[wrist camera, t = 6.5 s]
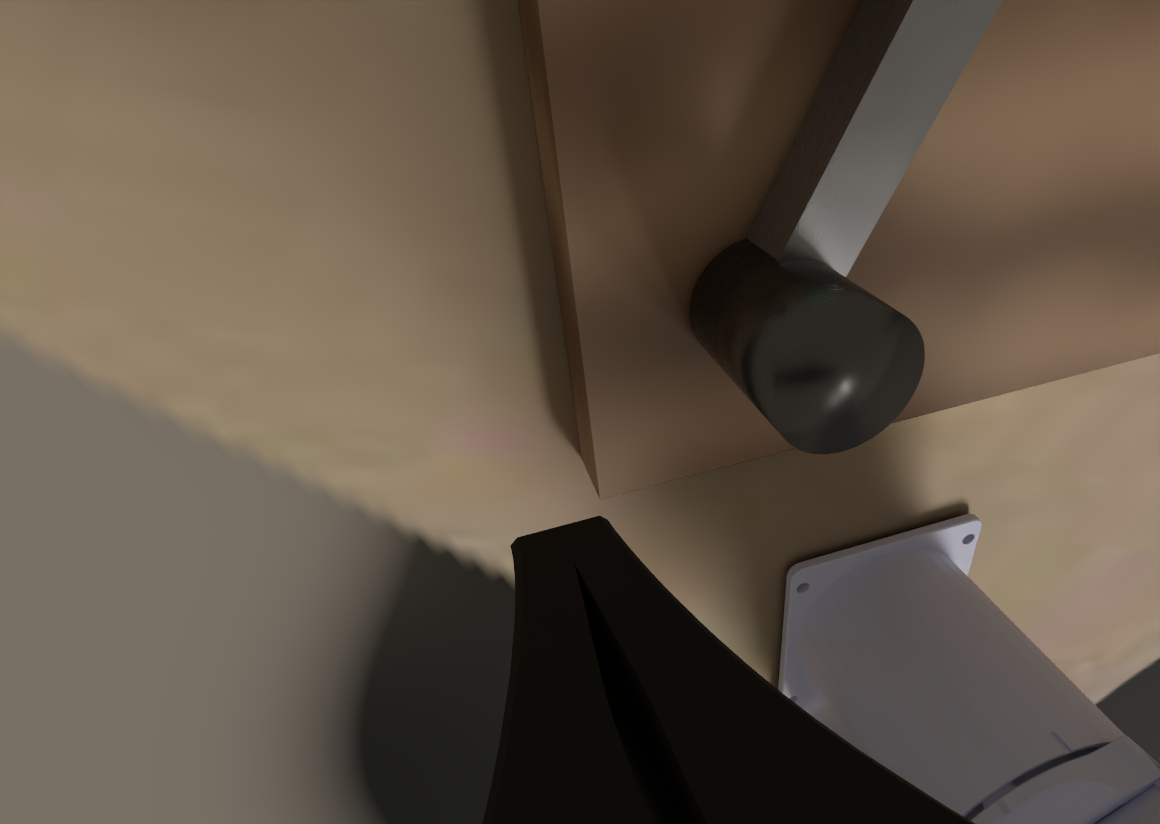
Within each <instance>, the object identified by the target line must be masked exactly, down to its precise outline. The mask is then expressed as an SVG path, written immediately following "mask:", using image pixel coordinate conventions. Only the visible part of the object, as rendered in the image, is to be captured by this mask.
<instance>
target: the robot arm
mask: <svg viewBox="0 0 1160 824" xmlns="http://www.w3.org/2000/svg"><path fill="white" fill-rule="evenodd" d="M981 526H982V522H981V520H980V519H979V518H978V517H976V516H975V515H974V514H966V515H962V516H959V517H955V518H952V519H948V520H945V521H941V522H938V523H934V524H931V525H928V526H924V527H921V528H917V529H914V530H910V531H907V532H903V533H900V534H896V535H893V536H889V537H886V538H882V539H879V540H876V541H872V542H869V543H865V544H862V545H858V546H855V547H851V548H848V549H844V550H841V551H837V552H834V553H831V554H827V555H824V556H820V557H817V558H813V559H810V560H806V561H803V562H799V563H797V564H795V565H794V566H792V567H791V568H790V569H789V571H788V573H787V580H786V593H785V606H784V620H783V633H782V646H781V659H780V672H779V685H778V689H777V688H775V687H774V686H773V685H772V684H770V683H769V682H768V681H767V680H765V679H764V678H763V677H762V676H761V675H759V674H758V673H757V672H756V671H755V670H753V669H752V668H751V667H750V666H749V665H748V664H746V663H745V662H744V661H743V660H742V659H741V658H740V657H738V656H737V655H736V654H735V653H734V652H733V651H732V650H730V649H729V648H728V647H727V646H726V645H725V644H724V643H722V642H721V641H720V640H719V639H718V638H717V637H716V636H715V635H714V634H713V633H711V632H710V631H709V630H708V629H707V628H706V627H705V626H704V625H703V624H702V623H701V622H700V621H699V620H698V619H697V618H696V617H695V616H694V615H693V614H692V613H691V612H690V611H689V610H688V609H686V608H685V607H684V606H683V605H682V604H681V603H680V602H679V601H678V600H677V599H676V598H675V597H674V596H673V595H672V594H671V593H670V592H669V591H668V590H667V589H666V588H665V587H664V585H663V584H662V583H661V582H660V581H659V580H658V579H657V578H656V577H655V576H654V575H653V574H652V573H651V572H650V570H649V569H648V568H647V567H646V566H645V565H644V564H643V563H642V562H641V561H640V559H639V558H638V557H637V556H636V555H635V554H634V553H633V551H632V550H631V549H630V548H629V547H628V545H627V544H626V543H625V542H624V541H623V539H622V538H621V537H620V536H619V534H618V533H617V532H616V531H615V529H614V528H613V527H612V525H611V524H610V522H609V521H608V520H607V519H605V518H603V517H601V516H597V517H593V518H589V519H586V520H582V521H578V522H574V523H571V524H567V525H563V526H559V527H555V528H552V529H548V530H544V531H540V532H537V533H533V534H529V535H525V536H522V537H518V538H517V539H516V540H515V541H514V542H513V543H512V545H511V550H512V555H513V560H514V571H515V624H514V635H513V647H512V659H511V670H510V678H509V685H508V692H507V698H506V705H505V712H504V718H503V725H502V731H501V737H500V743H499V748H498V753H497V759H496V765H495V769H494V774H493V779H492V783H491V788H490V793H489V797H488V802H487V806H486V810H485V815H484V819H483V824H1160V765H1159V764H1158V763H1157V762H1156V761H1155V760H1154V759H1152V758H1151V757H1150V756H1149V755H1148V754H1147V753H1146V752H1145V751H1143V750H1142V749H1141V748H1140V747H1139V746H1138V745H1137V744H1136V743H1135V742H1133V741H1132V740H1131V739H1130V738H1129V737H1128V736H1125V735H1124V734H1123V733H1122V732H1121V731H1120V730H1119V729H1118V728H1117V727H1116V726H1115V725H1114V724H1113V723H1112V722H1111V721H1110V720H1109V719H1108V718H1107V717H1106V716H1105V715H1104V714H1103V713H1102V712H1101V711H1100V710H1099V709H1098V708H1097V707H1096V706H1095V705H1094V704H1093V703H1092V702H1091V701H1090V700H1089V699H1088V698H1087V697H1086V696H1085V695H1084V694H1083V693H1082V692H1081V691H1080V689H1079V688H1078V687H1077V686H1076V685H1075V684H1074V683H1073V682H1072V681H1071V680H1070V679H1069V678H1068V677H1067V676H1066V675H1065V674H1064V673H1063V672H1062V671H1061V670H1060V669H1059V668H1058V667H1057V666H1056V665H1055V664H1054V663H1053V662H1052V661H1051V660H1050V659H1049V658H1048V657H1047V656H1046V655H1045V654H1044V653H1043V652H1042V651H1041V650H1040V649H1039V648H1038V647H1037V646H1036V645H1035V644H1034V643H1033V642H1032V641H1031V640H1030V639H1029V638H1028V637H1027V636H1026V635H1025V634H1024V633H1023V632H1022V631H1021V630H1020V629H1019V628H1018V627H1017V626H1016V625H1015V624H1014V623H1013V622H1012V621H1011V620H1010V619H1009V618H1008V617H1007V616H1006V615H1005V614H1004V613H1003V612H1002V611H1001V610H1000V609H999V608H998V607H997V606H996V605H995V604H994V603H993V602H992V601H991V600H990V599H989V598H988V597H987V596H986V594H985V593H984V592H983V591H982V590H981V589H980V588H979V587H978V586H977V585H976V584H975V583H974V582H973V581H972V580H971V579H970V578H969V577H968V572H969V569H970V565H971V562H972V558H973V555H974V551H975V547H976V544H977V540H978V537H979V533H980V530H981ZM1159 758H1160V757H1159Z"/></svg>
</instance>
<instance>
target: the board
mask: <svg viewBox="0 0 1160 824" xmlns="http://www.w3.org/2000/svg"><path fill="white" fill-rule="evenodd" d="M862 2H863V0H518V4H519V11H520V18H521V25H522V32H523V40H524V47H525V54H526V61H527V69H528V76H529V83H530V90H531V97H532V105H533V112H534V119H535V126H536V133H537V141H538V148H539V155H540V162H541V169H542V177H543V184H544V191H545V198H546V205H547V213H548V220H549V227H550V234H551V241H552V249H553V256H554V263H555V270H556V277H557V285H558V292H559V299H560V306H561V314H562V321H563V328H564V335H565V342H566V350H567V357H568V364H569V371H570V378H571V386H572V393H573V400H574V407H575V414H576V422H577V429H578V436H579V443H580V450H581V458H582V460H583V462H584V465H585V467H586V469H587V471H588V474H589V476H590V478H591V480H592V483H593V485H594V487H595V489H596V492H597V494H598V496H599V498H600V499H604V498H608V497H612V496H616V495H619V494H623V493H627V492H631V491H635V490H639V489H642V488H646V487H650V486H654V485H658V484H661V483H665V482H669V481H673V480H677V479H681V478H684V477H688V476H692V475H696V474H700V473H704V472H707V471H711V470H715V469H719V468H723V467H726V466H730V465H734V464H738V463H742V462H746V461H749V460H753V459H757V458H761V457H765V456H768V455H772V454H776V453H780V452H784V451H788V450H791V449H795V447H793V446H792V445H791V444H789V443H788V442H787V441H786V440H785V439H784V438H783V437H782V436H781V435H780V433H779V432H778V431H777V430H776V429H775V428H774V427H773V426H772V424H771V423H770V422H769V421H768V420H767V419H766V418H765V417H764V415H763V414H762V413H761V412H760V411H759V410H758V409H757V408H756V406H755V405H754V404H753V403H752V402H751V401H750V400H749V399H748V397H747V396H746V395H745V394H744V393H743V392H742V391H741V390H740V388H739V387H738V386H737V385H736V384H735V383H734V382H733V381H732V380H731V378H730V377H729V376H728V375H727V374H726V373H725V372H724V371H723V369H722V368H721V367H720V366H719V365H718V364H717V363H716V362H715V360H714V359H713V358H712V357H711V356H710V355H709V354H708V353H707V351H706V350H705V349H704V348H703V347H702V346H701V345H700V344H699V342H698V341H697V339H696V338H695V336H694V334H693V331H692V328H691V325H690V318H689V306H690V300H691V296H692V292H693V289H694V287H695V284H696V282H697V280H698V279H699V277H700V275H701V273H702V272H703V271H704V269H705V268H706V266H707V265H708V264H709V263H710V262H711V261H712V260H713V259H714V258H715V257H716V256H717V255H718V254H719V253H720V252H722V251H723V250H724V249H726V248H727V247H729V246H730V245H732V244H734V243H736V242H738V241H740V240H743V239H746V238H747V236H748V234H749V232H750V230H751V228H752V226H753V224H754V222H755V220H756V218H757V216H758V214H759V212H760V210H761V208H762V206H763V204H764V202H765V200H766V198H767V195H768V193H769V191H770V189H771V187H772V185H773V183H774V181H775V179H776V177H777V175H778V173H779V171H780V169H781V167H782V165H783V163H784V161H785V159H786V157H787V155H788V153H789V151H790V149H791V146H792V144H793V142H794V140H795V138H796V136H797V134H798V132H799V130H800V128H801V126H802V124H803V122H804V120H805V118H806V116H807V114H808V112H809V110H810V108H811V106H812V104H813V102H814V100H815V98H816V95H817V93H818V91H819V89H820V87H821V85H822V83H823V81H824V79H825V77H826V75H827V73H828V71H829V69H830V67H831V65H832V63H833V61H834V59H835V57H836V55H837V53H838V51H839V49H840V47H841V44H842V42H843V40H844V38H845V36H846V34H847V32H848V30H849V28H850V26H851V24H852V22H853V20H854V18H855V16H856V14H857V12H858V10H859V8H860V6H861V4H862ZM846 278H848V279H849V280H851V281H852V282H854V283H855V284H857V285H859V286H860V287H862V288H863V289H865V290H866V291H868V292H869V293H871V294H872V295H874V296H875V297H877V298H879V299H880V300H882V301H883V302H885V303H886V304H888V305H889V306H891V307H892V308H894V309H896V310H897V311H899V312H900V313H902V314H903V315H905V316H906V317H908V318H909V319H910V320H911V321H912V322H913V323H914V324H915V325H916V326H917V328H918V330H919V331H920V333H921V336H922V338H923V342H924V347H925V361H924V368H923V372H922V376H921V379H920V382H919V384H918V386H917V389H916V391H915V393H914V394H913V396H912V398H911V399H910V401H909V403H908V404H907V405H906V407H905V408H904V409H903V411H902V412H901V413H900V414H899V415H898V416H897V418H896V419H895V420H894V421H893V422H892V423H895V422H898V421H902V420H906V419H910V418H914V417H918V416H921V415H925V414H929V413H933V412H937V411H940V410H944V409H948V408H952V407H956V406H960V405H963V404H967V403H971V402H975V401H979V400H983V399H986V398H990V397H994V396H998V395H1002V394H1005V393H1009V392H1013V391H1017V390H1021V389H1025V388H1028V387H1032V386H1036V385H1040V384H1044V383H1047V382H1051V381H1055V380H1059V379H1063V378H1067V377H1070V376H1074V375H1078V374H1082V373H1086V372H1090V371H1093V370H1097V369H1101V368H1105V367H1109V366H1112V365H1116V364H1120V363H1124V362H1128V361H1132V360H1135V359H1139V358H1143V357H1147V356H1151V355H1154V354H1158V353H1160V0H1003V1H1002V2H1001V4H1000V6H999V8H998V9H997V11H996V13H995V15H994V16H993V18H992V20H991V22H990V24H989V25H988V27H987V29H986V31H985V32H984V34H983V36H982V38H981V39H980V41H979V43H978V45H977V46H976V48H975V50H974V52H973V54H972V55H971V57H970V59H969V61H968V62H967V64H966V66H965V68H964V69H963V71H962V73H961V75H960V76H959V78H958V80H957V82H956V84H955V85H954V87H953V89H952V91H951V92H950V94H949V96H948V98H947V99H946V101H945V103H944V105H943V106H942V108H941V110H940V112H939V114H938V115H937V117H936V119H935V121H934V122H933V124H932V126H931V128H930V129H929V131H928V133H927V135H926V136H925V138H924V140H923V142H922V144H921V145H920V147H919V149H918V151H917V152H916V154H915V156H914V158H913V159H912V161H911V163H910V165H909V166H908V168H907V170H906V172H905V174H904V175H903V177H902V179H901V181H900V182H899V184H898V186H897V188H896V189H895V191H894V193H893V195H892V196H891V198H890V200H889V202H888V204H887V205H886V207H885V209H884V211H883V212H882V214H881V216H880V218H879V219H878V221H877V223H876V225H875V226H874V228H873V230H872V232H871V234H870V235H869V237H868V239H867V241H866V242H865V244H864V246H863V248H862V249H861V251H860V253H859V255H858V256H857V258H856V260H855V262H854V264H853V265H852V267H851V269H850V271H849V272H848V274H847V276H846ZM890 424H891V423H890Z"/></svg>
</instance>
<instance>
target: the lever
mask: <svg viewBox="0 0 1160 824" xmlns="http://www.w3.org/2000/svg"><path fill="white" fill-rule="evenodd" d="M1002 1H1003V0H863V2H862V4H861V6H860V8H859V10H858V12H857V14H856V16H855V18H854V20H853V22H852V24H851V26H850V28H849V30H848V32H847V34H846V36H845V38H844V40H843V42H842V44H841V47H840V49H839V51H838V53H837V55H836V57H835V59H834V61H833V63H832V65H831V67H830V69H829V71H828V73H827V75H826V77H825V79H824V81H823V83H822V85H821V87H820V89H819V91H818V93H817V95H816V98H815V100H814V102H813V104H812V106H811V108H810V110H809V112H808V114H807V116H806V118H805V120H804V122H803V124H802V126H801V128H800V130H799V132H798V134H797V136H796V138H795V140H794V142H793V144H792V146H791V149H790V151H789V153H788V155H787V157H786V159H785V161H784V163H783V165H782V167H781V169H780V171H779V173H778V175H777V177H776V179H775V181H774V183H773V185H772V187H771V189H770V191H769V193H768V195H767V198H766V200H765V202H764V204H763V206H762V208H761V210H760V212H759V214H758V216H757V218H756V220H755V222H754V224H753V226H752V228H751V230H750V232H749V234H748V236H747V238H746V239H743V240H740V241H738V242H736V243H734V244H732V245H730V246H729V247H727V248H726V249H724V250H723V251H722V252H720V253H719V254H718V255H717V256H716V257H715V258H714V259H713V260H712V261H711V262H710V263H709V264H708V265H707V266H706V268H705V269H704V271H703V272H702V273H701V275H700V277H699V279H698V280H697V282H696V284H695V287H694V289H693V292H692V296H691V300H690V306H689V318H690V325H691V328H692V331H693V334H694V336H695V338H696V339H697V341H698V342H699V344H700V345H701V346H702V347H703V348H704V349H705V350H706V351H707V353H708V354H709V355H710V356H711V357H712V358H713V359H714V360H715V362H716V363H717V364H718V365H719V366H720V367H721V368H722V369H723V371H724V372H725V373H726V374H727V375H728V376H729V377H730V378H731V380H732V381H733V382H734V383H735V384H736V385H737V386H738V387H739V388H740V390H741V391H742V392H743V393H744V394H745V395H746V396H747V397H748V399H749V400H750V401H751V402H752V403H753V404H754V405H755V406H756V408H757V409H758V410H759V411H760V412H761V413H762V414H763V415H764V417H765V418H766V419H767V420H768V421H769V422H770V423H771V424H772V426H773V427H774V428H775V429H776V430H777V431H778V432H779V433H780V435H781V436H782V437H783V438H784V439H785V440H786V441H787V442H788V443H789V444H791V445H792V446H793V447H795V448H797V449H799V450H801V451H805V452H808V453H814V454H830V453H836V452H841V451H845V450H848V449H850V448H853V447H856V446H858V445H860V444H862V443H864V442H866V441H868V440H869V439H871V438H873V437H874V436H875V435H877V434H878V433H880V432H881V431H882V430H884V429H885V428H886V427H887V426H888V425H889V424H890V423H892V422H893V421H894V420H895V419H896V418H897V416H898V415H899V414H900V413H901V412H902V411H903V409H904V408H905V407H906V405H907V404H908V403H909V401H910V399H911V398H912V396H913V394H914V393H915V391H916V389H917V386H918V384H919V382H920V379H921V376H922V372H923V368H924V361H925V347H924V342H923V338H922V336H921V333H920V331H919V330H918V328H917V326H916V325H915V324H914V323H913V322H912V321H911V320H910V319H909V318H908V317H906V316H905V315H903V314H902V313H900V312H899V311H897V310H896V309H894V308H892V307H891V306H889V305H888V304H886V303H885V302H883V301H882V300H880V299H879V298H877V297H875V296H874V295H872V294H871V293H869V292H868V291H866V290H865V289H863V288H862V287H860V286H859V285H857V284H855V283H854V282H852V281H851V280H849V279H848V278H846V276H847V274H848V272H849V271H850V269H851V267H852V265H853V264H854V262H855V260H856V258H857V256H858V255H859V253H860V251H861V249H862V248H863V246H864V244H865V242H866V241H867V239H868V237H869V235H870V234H871V232H872V230H873V228H874V226H875V225H876V223H877V221H878V219H879V218H880V216H881V214H882V212H883V211H884V209H885V207H886V205H887V204H888V202H889V200H890V198H891V196H892V195H893V193H894V191H895V189H896V188H897V186H898V184H899V182H900V181H901V179H902V177H903V175H904V174H905V172H906V170H907V168H908V166H909V165H910V163H911V161H912V159H913V158H914V156H915V154H916V152H917V151H918V149H919V147H920V145H921V144H922V142H923V140H924V138H925V136H926V135H927V133H928V131H929V129H930V128H931V126H932V124H933V122H934V121H935V119H936V117H937V115H938V114H939V112H940V110H941V108H942V106H943V105H944V103H945V101H946V99H947V98H948V96H949V94H950V92H951V91H952V89H953V87H954V85H955V84H956V82H957V80H958V78H959V76H960V75H961V73H962V71H963V69H964V68H965V66H966V64H967V62H968V61H969V59H970V57H971V55H972V54H973V52H974V50H975V48H976V46H977V45H978V43H979V41H980V39H981V38H982V36H983V34H984V32H985V31H986V29H987V27H988V25H989V24H990V22H991V20H992V18H993V16H994V15H995V13H996V11H997V9H998V8H999V6H1000V4H1001V2H1002Z"/></svg>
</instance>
